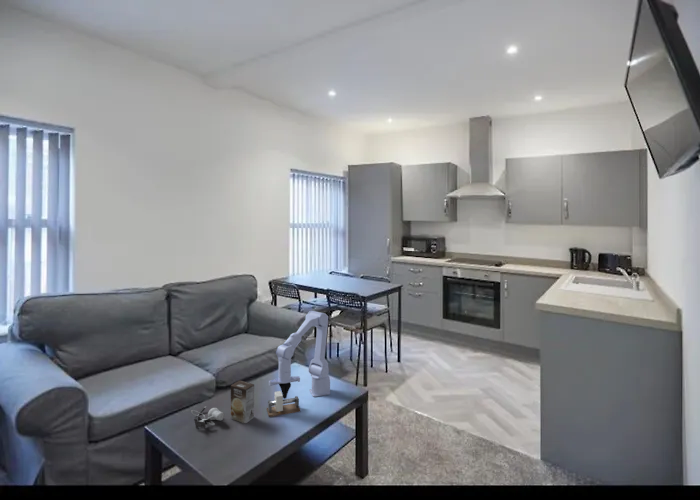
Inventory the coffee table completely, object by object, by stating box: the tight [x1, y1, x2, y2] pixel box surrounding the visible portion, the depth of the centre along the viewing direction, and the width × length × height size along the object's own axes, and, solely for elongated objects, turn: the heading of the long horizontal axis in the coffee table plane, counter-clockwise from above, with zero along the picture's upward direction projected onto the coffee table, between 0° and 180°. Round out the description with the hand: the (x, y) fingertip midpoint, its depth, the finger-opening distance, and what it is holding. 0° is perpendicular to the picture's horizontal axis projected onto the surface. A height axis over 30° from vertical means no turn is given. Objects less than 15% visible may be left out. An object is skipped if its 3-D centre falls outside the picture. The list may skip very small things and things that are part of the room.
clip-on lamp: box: [191, 406, 225, 429], centre depth 170 cm, size 12×6×18 cm
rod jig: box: [266, 395, 301, 418], centre depth 180 cm, size 15×7×6 cm, turn 111°
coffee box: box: [230, 379, 255, 424], centre depth 173 cm, size 9×6×16 cm
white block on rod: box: [274, 390, 284, 412], centre depth 179 cm, size 3×5×7 cm, turn 21°
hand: (284, 397), depth 180 cm, fingers closed
